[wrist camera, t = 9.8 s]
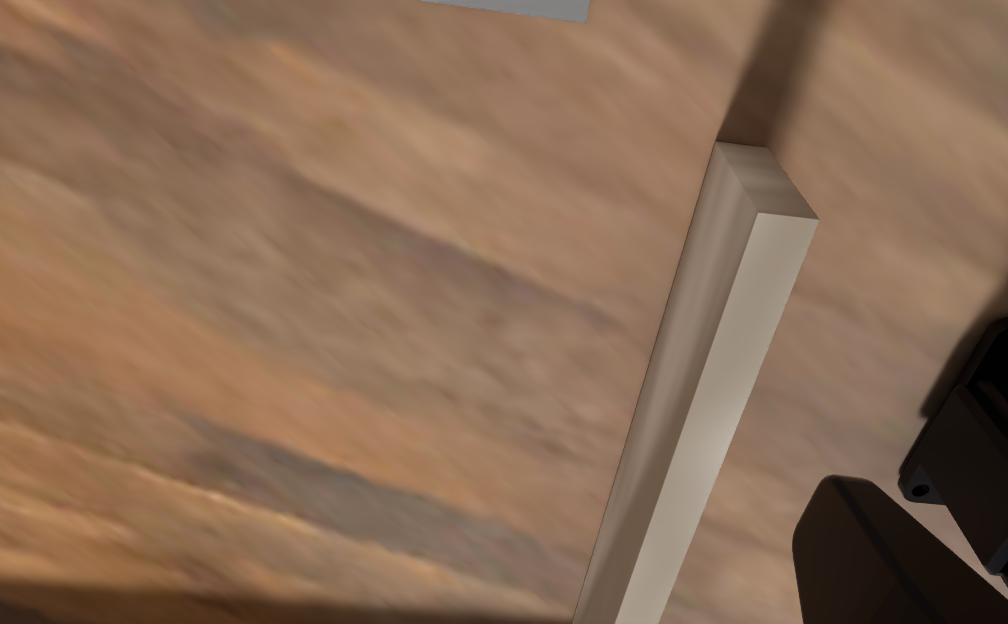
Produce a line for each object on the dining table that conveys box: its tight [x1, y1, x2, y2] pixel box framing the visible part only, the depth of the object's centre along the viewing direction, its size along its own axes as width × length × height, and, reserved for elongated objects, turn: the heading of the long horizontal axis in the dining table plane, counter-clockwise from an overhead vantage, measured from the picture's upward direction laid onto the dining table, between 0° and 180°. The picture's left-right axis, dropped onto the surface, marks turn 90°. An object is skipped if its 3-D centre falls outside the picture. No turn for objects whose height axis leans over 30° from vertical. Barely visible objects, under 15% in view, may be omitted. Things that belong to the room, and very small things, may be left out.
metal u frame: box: [572, 141, 820, 624], centre depth 21 cm, size 25×22×4 cm
